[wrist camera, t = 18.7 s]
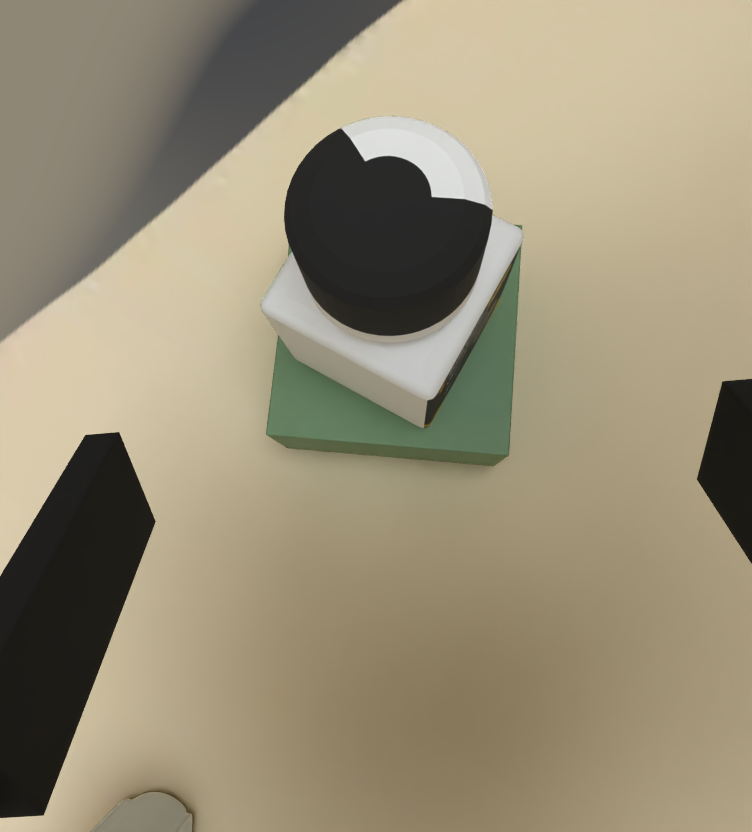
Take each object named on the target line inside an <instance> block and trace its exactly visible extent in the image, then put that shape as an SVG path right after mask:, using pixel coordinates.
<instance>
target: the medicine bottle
mask: <svg viewBox="0 0 752 832" xmlns="http://www.w3.org/2000/svg"><path fill="white" fill-rule="evenodd" d="M492 212H493V209H492V197H491V192H490V188H489V184H488V181H487V179H486V176H485V174H484V171H483V169H482V168H481V166H480V164H479V163H478V161H477V159H476V158H475V157H474V155H473V154H472V153H471V152H470V150H469V149H468V148H467V147H466V146H465V145H464V144H463V143H461V142H460V141H459V140H458V139H457V138H456V137H454V136H453V135H451V134H450V133H448V132H447V131H445V130H443V129H441V128H439V127H437V126H435V125H433V124H430V123H428V122H425V121H422V120H418V119H413V118H409V117H399V116H382V117H374V118H368V119H364V120H360V121H357V122H354V123H351V124H349V125H346V126H344V127H342V128H340V129H338V130H336V131H335V132H333V133H331V134H330V135H328V136H326V137H325V138H324V139H323V140H322V141H320V142H319V143H318V144H317V145H315V147H314V148H313V149H312V150H311V151H310V152H309V153H308V154H307V155H306V156H305V158H304V159H303V161H302V162H301V163H300V165H299V166H298V168H297V170H296V172H295V174H294V176H293V177H292V180H291V183H290V185H289V188H288V191H287V196H286V201H285V212H284V221H285V231H286V235H287V239H288V243H289V246H290V248H291V250H292V252H291V253H290V255H289V257H288V258H287V260H286V261H285V263H284V265H283V266H282V268H281V270H280V271H279V273H278V275H277V276H276V278H275V279H274V281H273V283H272V284H271V286H270V288H269V289H268V291H267V292H266V294H265V296H264V297H263V299H262V301H261V310H262V312H263V313H264V315H265V316H266V318H267V319H268V321H269V322H270V324H271V325H272V326H273V328H274V329H275V331H276V332H277V334H278V335H279V336H280V338H281V339H282V341H283V342H284V344H285V345H286V347H287V348H288V349H289V351H290V352H291V354H292V355H293V357H294V358H295V359H296V360H297V361H299V362H301V363H303V364H305V365H307V366H308V367H310V368H312V369H314V370H316V371H318V372H319V373H321V374H323V375H325V376H327V377H328V378H330V379H332V380H334V381H336V382H338V383H339V384H341V385H343V386H345V387H347V388H349V389H350V390H352V391H354V392H356V393H358V394H360V395H361V396H363V397H365V398H367V399H369V400H371V401H372V402H374V403H376V404H378V405H380V406H381V407H383V408H385V409H387V410H389V411H391V412H392V413H394V414H396V415H398V416H400V417H402V418H403V419H405V420H407V421H409V422H411V423H413V424H414V425H416V426H418V427H420V428H427V427H428V426H429V425H430V424H431V423H432V421H433V419H434V417H435V416H436V414H437V412H438V410H439V409H440V407H441V405H442V403H443V401H444V400H445V398H446V396H447V394H448V392H449V391H450V389H451V387H452V385H453V383H454V382H455V380H456V378H457V376H458V374H459V373H460V371H461V369H462V367H463V366H464V364H465V362H466V360H467V358H468V357H469V355H470V353H471V351H472V349H473V348H474V346H475V344H476V342H477V340H478V339H479V337H480V335H481V333H482V331H483V330H484V328H485V326H486V324H487V323H488V321H489V319H490V317H491V315H492V314H493V312H494V310H495V308H496V306H497V305H498V303H499V300H500V298H501V295H502V292H503V290H504V287H505V285H506V282H507V280H508V277H509V275H510V272H511V270H512V267H513V265H514V262H515V260H516V257H517V254H518V252H519V249H520V247H521V244H522V242H523V238H524V236H523V232H522V230H521V229H520V228H519V227H517V226H515V225H513V224H511V223H509V222H507V221H505V220H502V219H500V218H498V217H496V216H494V215H492Z"/></svg>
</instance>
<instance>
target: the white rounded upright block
mask: <svg viewBox="0 0 752 832" xmlns="http://www.w3.org/2000/svg"><path fill="white" fill-rule="evenodd" d="M90 832H192V814H190V813H186V808H185V807H184V806H183V804H182V803H181V802H179V801H178V800H177V799H175V798H174V797H172V796H170V795H168V794H165V793H161V792H148V793H144V794H141V795H139V796H137V797H136V798H134V799H132V800H130V799H127V798H126V799H124V800H123V801H121V802H120V803H119V804H118V805H117V806H116V807H115V808H113V809H112V810H111V811H110V812H109V813H108V814H107V815H106V816H105V817H104V818H103V819H102V820H101V821H100V822H99V823H98V824H97V825H96V826H95V827H94V829H93V830H91V831H90Z"/></svg>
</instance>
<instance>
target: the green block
mask: <svg viewBox="0 0 752 832" xmlns="http://www.w3.org/2000/svg"><path fill="white" fill-rule="evenodd" d="M515 226H517V227H519V228H520V229H521V230H522V225H515ZM291 252H292V250H291V248H290V246H289V252H288V257H289V255H290V253H291ZM520 257H521V247H520V249H519V252H518V254H517V257H516V260H515V262H514V265H513V267H512V270H511V272H510V275H509V277H508V280H507V282H506V285H505V287H504V290H503V292H502V295H501V298H500V300H499V303H498V305H497V306H496V308H495V310H494V312H493V314H492V315H491V317H490V319H489V321H488V323H487V324H486V326H485V328H484V330H483V331H482V333H481V335H480V337H479V339H478V340H477V342H476V344H475V346H474V348H473V349H472V351H471V353H470V355H469V357H468V358H467V360H466V362H465V364H464V366H463V367H462V369H461V371H460V373H459V374H458V376H457V378H456V380H455V382H454V383H453V385H452V387H451V389H450V391H449V392H448V394H447V396H446V398H445V400H444V401H443V403H442V405H441V407H440V409H439V410H438V412H437V414H436V416H435V417H434V419H433V421H432V423H431V424H430V425H429V426H428V427H427V428H420V427H418V426H416V425H414V424H413V423H411V422H409V421H407V420H405V419H403V418H402V417H400V416H398V415H396V414H394V413H392V412H391V411H389V410H387V409H385V408H383V407H381V406H380V405H378V404H376V403H374V402H372V401H371V400H369V399H367V398H365V397H363V396H361V395H360V394H358V393H356V392H354V391H352V390H350V389H349V388H347V387H345V386H343V385H341V384H339V383H338V382H336V381H334V380H332V379H330V378H328V377H327V376H325V375H323V374H321V373H319V372H318V371H316V370H314V369H312V368H310V367H308V366H307V365H305V364H303V363H301V362H299V361H297V360H296V359H295V358H294V357H293V355H292V354H291V352H290V351H289V349H288V348H287V347H286V345H285V344H284V342H283V341H282V339H281V338H280V336H279V335H278V342H277V350H276V358H275V366H274V374H273V382H272V390H271V399H270V407H269V415H268V423H267V431H266V435H268V436H269V437H271V438H272V439H274V440H276V441H277V442H279V443H280V444H282V445H284V446H285V447H287V448H294V449H305V450H317V451H328V452H340V453H351V454H362V455H374V456H385V457H397V458H408V459H420V460H431V461H442V462H454V463H465V464H477V465H488V466H494V465H496V464H497V463H499V462H500V461H501V460H503V459H504V458H506V457H507V456H508V455H509V443H510V426H511V409H512V392H513V375H514V358H515V341H516V325H517V308H518V291H519V274H520Z"/></svg>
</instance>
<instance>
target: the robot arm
mask: <svg viewBox="0 0 752 832" xmlns="http://www.w3.org/2000/svg"><path fill="white" fill-rule="evenodd" d="M697 480H698V482H699V483H700V485H701V486H702V488H703V490H704V491H705V493H706V494H707V496H708V497H709V499H710V500H711V502H712V503H713V505H714V506H715V508H716V510H717V511H718V513H719V514H720V516H721V517H722V519H723V520H724V522H725V523H726V525H727V526H728V528H729V530H730V531H731V533H732V534H733V536H734V537H735V539H736V540H737V542H738V543H739V545H740V546H741V548H742V550H743V551H744V553H745V554H746V556H747V557H748V559H749V560H750V562H751V563H752V379H746V380H734V381H723V382H722V386H721V390H720V393H719V397H718V401H717V405H716V409H715V412H714V416H713V420H712V424H711V428H710V432H709V435H708V439H707V443H706V447H705V451H704V454H703V458H702V462H701V466H700V470H699V473H698V477H697ZM155 522H156V521H155V519H154V517H153V514H152V512H151V509H150V507H149V504H148V502H147V499H146V497H145V495H144V492H143V490H142V487H141V485H140V482H139V480H138V477H137V475H136V472H135V470H134V468H133V465H132V463H131V460H130V458H129V455H128V453H127V450H126V448H125V446H124V443H123V441H122V438H121V436H120V433H119V432H117V433H105V434H93V435H85V437H84V438H83V440H82V442H81V443H80V445H79V447H78V448H77V450H76V451H75V453H74V455H73V456H72V458H71V460H70V461H69V463H68V465H67V466H66V468H65V470H64V471H63V473H62V475H61V476H60V478H59V480H58V481H57V483H56V485H55V486H54V488H53V490H52V491H51V493H50V495H49V496H48V498H47V500H46V501H45V503H44V505H43V506H42V508H41V510H40V511H39V513H38V515H37V516H36V518H35V519H34V521H33V523H32V524H31V526H30V528H29V529H28V531H27V533H26V534H25V536H24V538H23V539H22V541H21V543H20V544H19V546H18V548H17V549H16V551H15V553H14V554H13V556H12V558H11V559H10V561H9V563H8V564H7V566H6V568H5V569H4V571H3V573H2V574H1V576H0V818H7V817H24V816H41V815H44V813H45V810H46V808H47V805H48V802H49V800H50V797H51V794H52V792H53V789H54V787H55V784H56V781H57V779H58V776H59V773H60V771H61V768H62V766H63V763H64V760H65V758H66V755H67V752H68V750H69V747H70V745H71V742H72V739H73V737H74V734H75V731H76V729H77V726H78V724H79V721H80V718H81V716H82V713H83V711H84V708H85V705H86V703H87V700H88V697H89V695H90V692H91V690H92V687H93V684H94V682H95V679H96V676H97V674H98V671H99V669H100V666H101V663H102V661H103V658H104V655H105V653H106V650H107V648H108V645H109V642H110V640H111V637H112V634H113V632H114V629H115V627H116V624H117V621H118V619H119V616H120V613H121V611H122V608H123V606H124V603H125V600H126V598H127V595H128V592H129V590H130V587H131V585H132V582H133V579H134V577H135V574H136V571H137V569H138V566H139V564H140V561H141V558H142V556H143V553H144V551H145V548H146V545H147V543H148V540H149V537H150V535H151V532H152V530H153V527H154V524H155Z"/></svg>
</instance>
